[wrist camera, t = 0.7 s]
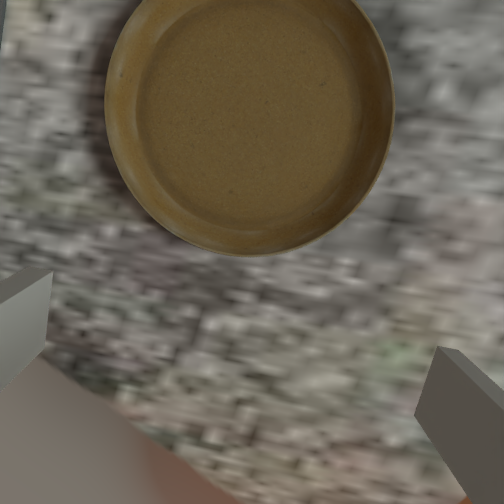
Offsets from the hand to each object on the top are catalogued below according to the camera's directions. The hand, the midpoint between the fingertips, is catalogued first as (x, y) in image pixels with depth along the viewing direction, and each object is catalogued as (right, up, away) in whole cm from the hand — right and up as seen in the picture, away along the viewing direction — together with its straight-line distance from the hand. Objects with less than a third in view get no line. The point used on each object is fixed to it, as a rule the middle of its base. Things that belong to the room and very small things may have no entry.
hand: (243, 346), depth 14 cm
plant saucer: (0, +15, +24) cm, 28 cm away
